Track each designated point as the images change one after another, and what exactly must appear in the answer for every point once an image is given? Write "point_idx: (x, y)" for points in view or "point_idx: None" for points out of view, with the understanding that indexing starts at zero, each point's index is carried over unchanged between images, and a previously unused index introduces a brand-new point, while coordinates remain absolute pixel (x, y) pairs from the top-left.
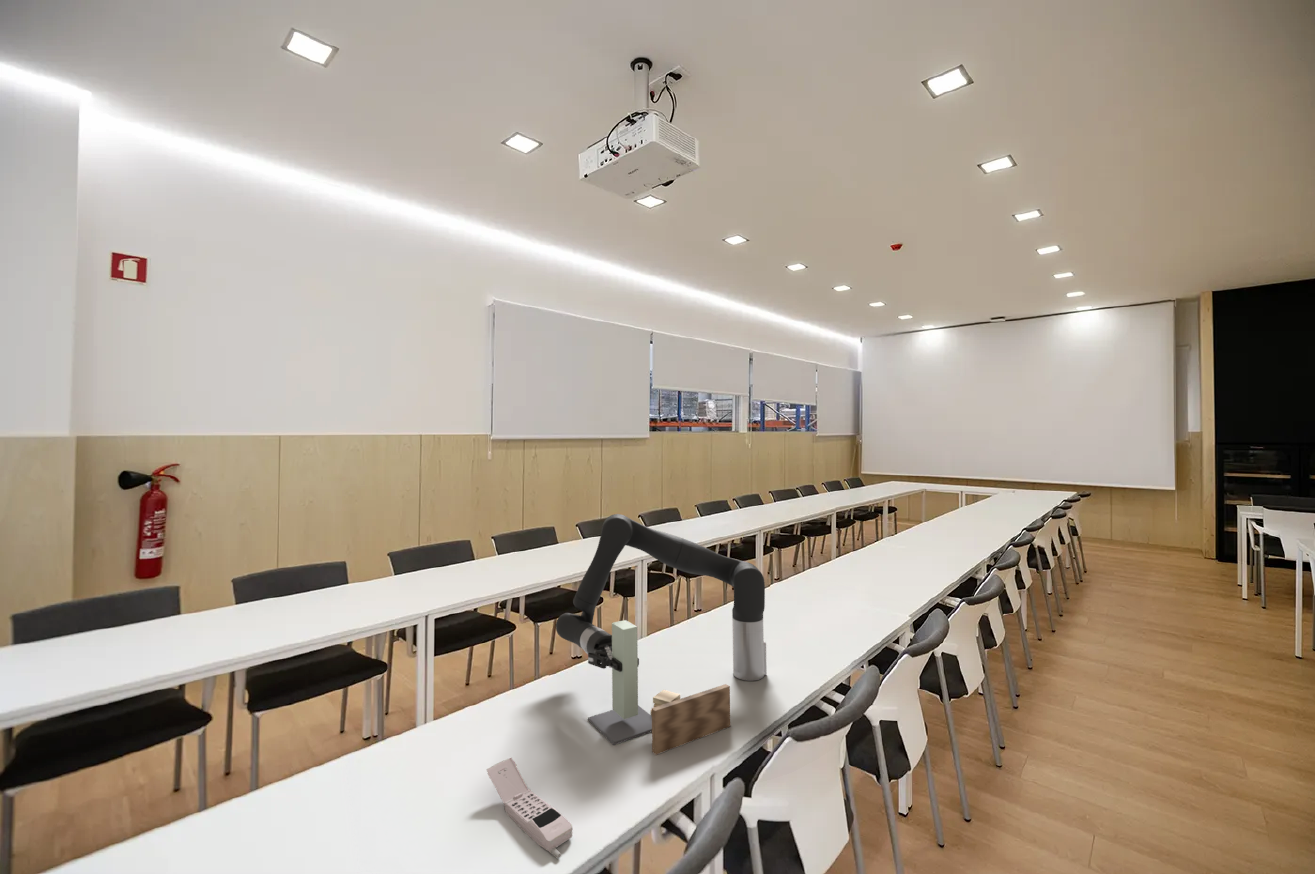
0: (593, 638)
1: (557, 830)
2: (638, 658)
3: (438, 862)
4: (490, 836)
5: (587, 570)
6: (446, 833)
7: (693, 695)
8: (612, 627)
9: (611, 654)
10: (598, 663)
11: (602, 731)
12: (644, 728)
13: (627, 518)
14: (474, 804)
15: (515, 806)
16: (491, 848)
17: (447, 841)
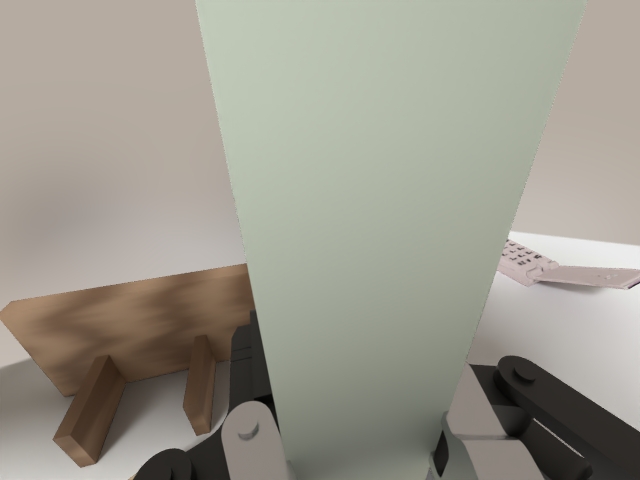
0: None
1: None
2: (234, 336)
3: (581, 240)
4: (543, 253)
5: None
6: (615, 265)
7: (155, 286)
8: (539, 59)
9: (459, 437)
10: (579, 475)
11: (428, 472)
12: None
13: None
14: (626, 298)
15: (533, 254)
16: (529, 242)
17: (599, 256)
